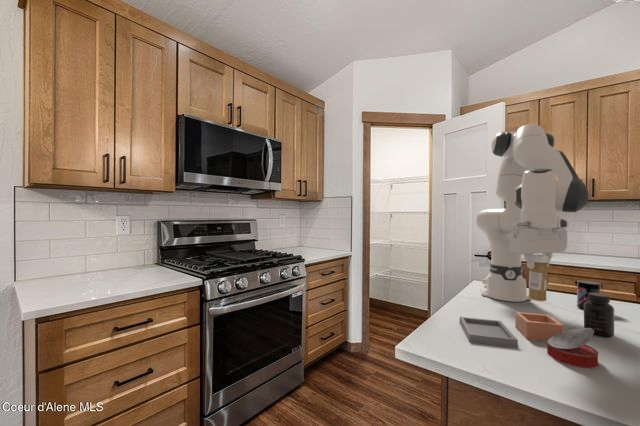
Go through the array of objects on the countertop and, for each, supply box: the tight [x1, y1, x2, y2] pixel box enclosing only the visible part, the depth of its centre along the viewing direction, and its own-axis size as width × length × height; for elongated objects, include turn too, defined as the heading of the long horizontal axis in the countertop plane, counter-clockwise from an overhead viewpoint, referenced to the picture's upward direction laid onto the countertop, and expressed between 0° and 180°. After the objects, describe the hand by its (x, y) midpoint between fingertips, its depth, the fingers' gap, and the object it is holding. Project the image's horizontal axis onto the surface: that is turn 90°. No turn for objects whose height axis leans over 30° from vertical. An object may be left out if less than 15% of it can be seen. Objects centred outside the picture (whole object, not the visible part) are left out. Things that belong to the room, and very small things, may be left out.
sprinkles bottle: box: [527, 253, 549, 302], centre depth 89 cm, size 5×5×13 cm
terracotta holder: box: [514, 311, 564, 342], centre depth 89 cm, size 9×9×5 cm
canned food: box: [546, 327, 599, 369], centre depth 74 cm, size 11×10×10 cm
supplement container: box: [576, 279, 602, 311], centre depth 114 cm, size 7×7×10 cm
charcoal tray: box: [459, 316, 519, 348], centre depth 89 cm, size 15×12×2 cm
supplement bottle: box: [583, 292, 615, 339], centre depth 90 cm, size 7×7×12 cm
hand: (538, 267), depth 89 cm, fingers closed on sprinkles bottle, 4 cm apart
